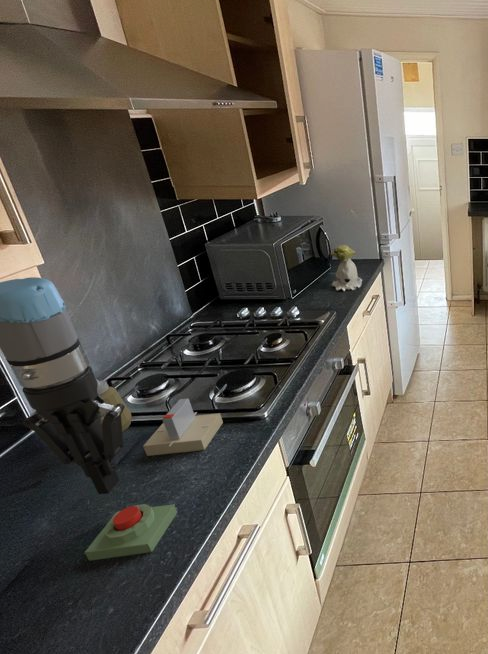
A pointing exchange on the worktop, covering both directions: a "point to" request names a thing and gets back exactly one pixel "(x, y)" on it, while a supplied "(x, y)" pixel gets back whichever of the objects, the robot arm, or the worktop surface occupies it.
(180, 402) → the grey rectangular block
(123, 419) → the squeeze bottle
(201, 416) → the switch base
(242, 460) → the worktop surface
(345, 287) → the white green figurine
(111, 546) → the button box
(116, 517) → the button
